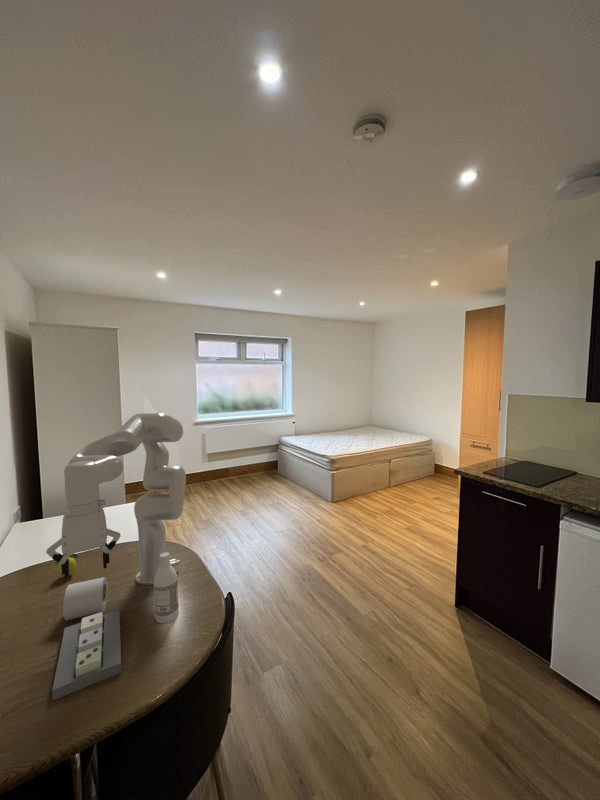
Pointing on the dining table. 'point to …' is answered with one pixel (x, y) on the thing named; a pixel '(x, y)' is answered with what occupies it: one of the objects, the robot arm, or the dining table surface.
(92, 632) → the tile two
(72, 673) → the board
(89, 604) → the toilet paper
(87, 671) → the tile three
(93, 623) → the tile one
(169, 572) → the bath foam
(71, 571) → the lemon
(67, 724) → the dining table surface
